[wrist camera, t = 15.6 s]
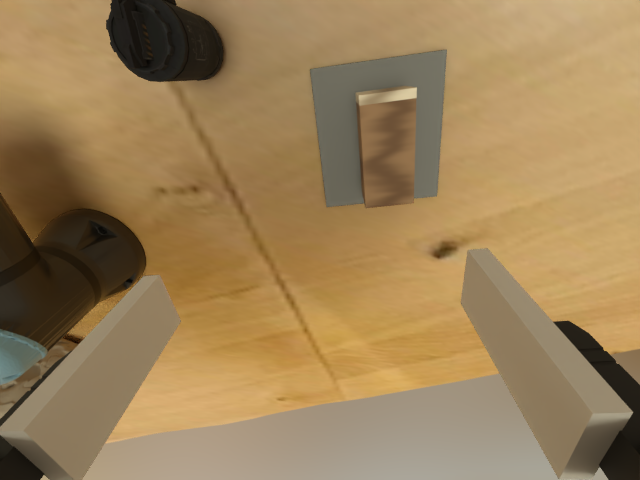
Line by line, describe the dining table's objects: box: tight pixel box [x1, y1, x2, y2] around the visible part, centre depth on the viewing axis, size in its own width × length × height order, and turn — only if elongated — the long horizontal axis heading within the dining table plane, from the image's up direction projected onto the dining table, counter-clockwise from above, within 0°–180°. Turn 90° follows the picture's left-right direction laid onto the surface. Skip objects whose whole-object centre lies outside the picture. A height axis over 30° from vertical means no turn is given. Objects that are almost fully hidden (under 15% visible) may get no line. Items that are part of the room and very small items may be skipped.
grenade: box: [106, 0, 223, 82], centre depth 29 cm, size 7×7×15 cm
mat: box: [310, 50, 447, 207], centre depth 40 cm, size 16×18×1 cm
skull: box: [0, 338, 79, 419], centre depth 56 cm, size 20×25×20 cm
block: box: [355, 86, 417, 208], centre depth 37 cm, size 6×6×13 cm
